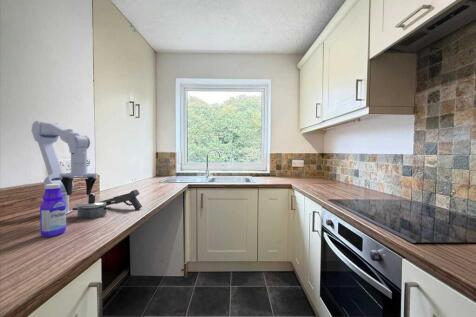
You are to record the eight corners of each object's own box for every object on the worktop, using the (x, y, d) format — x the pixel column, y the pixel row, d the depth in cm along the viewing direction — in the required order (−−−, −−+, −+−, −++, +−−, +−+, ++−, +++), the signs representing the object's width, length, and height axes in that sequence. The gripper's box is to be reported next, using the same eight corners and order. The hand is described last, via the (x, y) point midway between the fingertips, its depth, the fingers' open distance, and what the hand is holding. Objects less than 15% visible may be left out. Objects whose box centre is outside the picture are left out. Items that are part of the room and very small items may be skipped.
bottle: (50, 238, 80) (49, 185, 79) (36, 237, 81) (35, 185, 81) (69, 231, 87) (69, 183, 87) (56, 230, 88) (56, 182, 88)
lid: (71, 209, 101) (71, 195, 102) (81, 206, 112) (82, 193, 113) (101, 208, 104) (102, 194, 104) (109, 206, 115) (109, 193, 116)
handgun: (139, 209, 120) (134, 190, 120) (98, 219, 124) (93, 200, 124) (143, 207, 123) (139, 188, 124) (103, 217, 128) (99, 199, 128)
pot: (66, 219, 102) (66, 209, 102) (79, 213, 113) (79, 204, 113) (105, 218, 105) (105, 209, 105) (114, 212, 115) (114, 203, 115)
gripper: (55, 163, 100) (55, 196, 100) (92, 164, 102) (92, 196, 102) (64, 163, 107) (64, 193, 107) (99, 163, 109) (99, 193, 109)
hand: (79, 194), depth 105 cm, fingers open, 7 cm apart
